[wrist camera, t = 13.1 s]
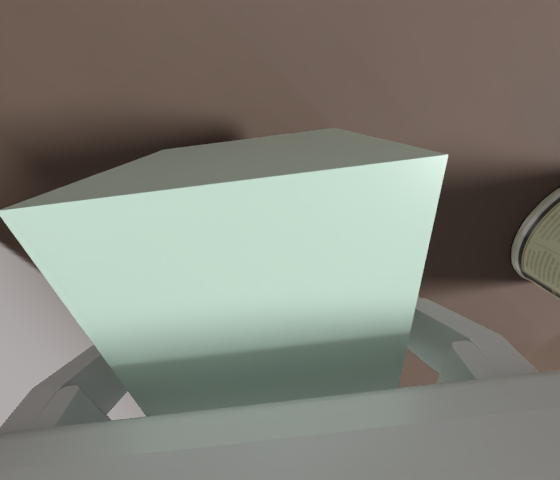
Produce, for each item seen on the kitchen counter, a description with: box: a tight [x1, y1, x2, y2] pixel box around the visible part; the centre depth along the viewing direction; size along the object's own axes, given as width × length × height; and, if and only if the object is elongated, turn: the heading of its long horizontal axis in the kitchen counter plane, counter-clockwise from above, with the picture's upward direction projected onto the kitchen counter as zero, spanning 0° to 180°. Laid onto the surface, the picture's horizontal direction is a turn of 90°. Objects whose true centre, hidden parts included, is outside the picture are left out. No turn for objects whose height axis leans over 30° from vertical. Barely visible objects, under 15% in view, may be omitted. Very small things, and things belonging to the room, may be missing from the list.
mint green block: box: [0, 128, 448, 416], centre depth 9 cm, size 11×7×7 cm
